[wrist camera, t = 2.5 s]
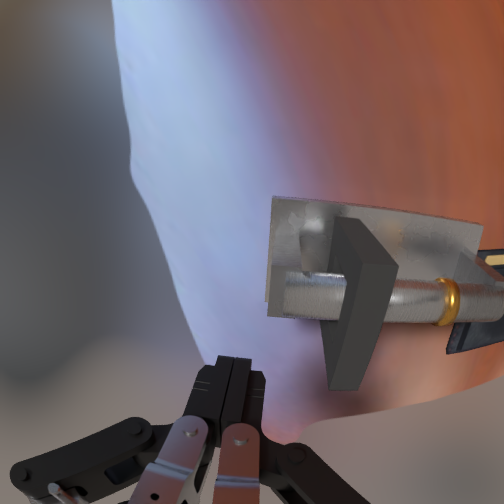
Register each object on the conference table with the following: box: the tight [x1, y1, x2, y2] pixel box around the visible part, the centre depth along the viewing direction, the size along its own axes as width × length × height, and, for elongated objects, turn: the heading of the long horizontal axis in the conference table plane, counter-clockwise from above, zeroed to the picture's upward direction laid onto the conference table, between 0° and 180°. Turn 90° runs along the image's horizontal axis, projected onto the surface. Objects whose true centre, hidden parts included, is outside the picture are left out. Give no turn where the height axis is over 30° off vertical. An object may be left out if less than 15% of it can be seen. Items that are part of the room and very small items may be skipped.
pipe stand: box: [265, 196, 504, 326], centre depth 21 cm, size 22×10×10 cm, turn 87°
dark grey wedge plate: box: [320, 216, 399, 391], centre depth 19 cm, size 2×9×9 cm, turn 177°
